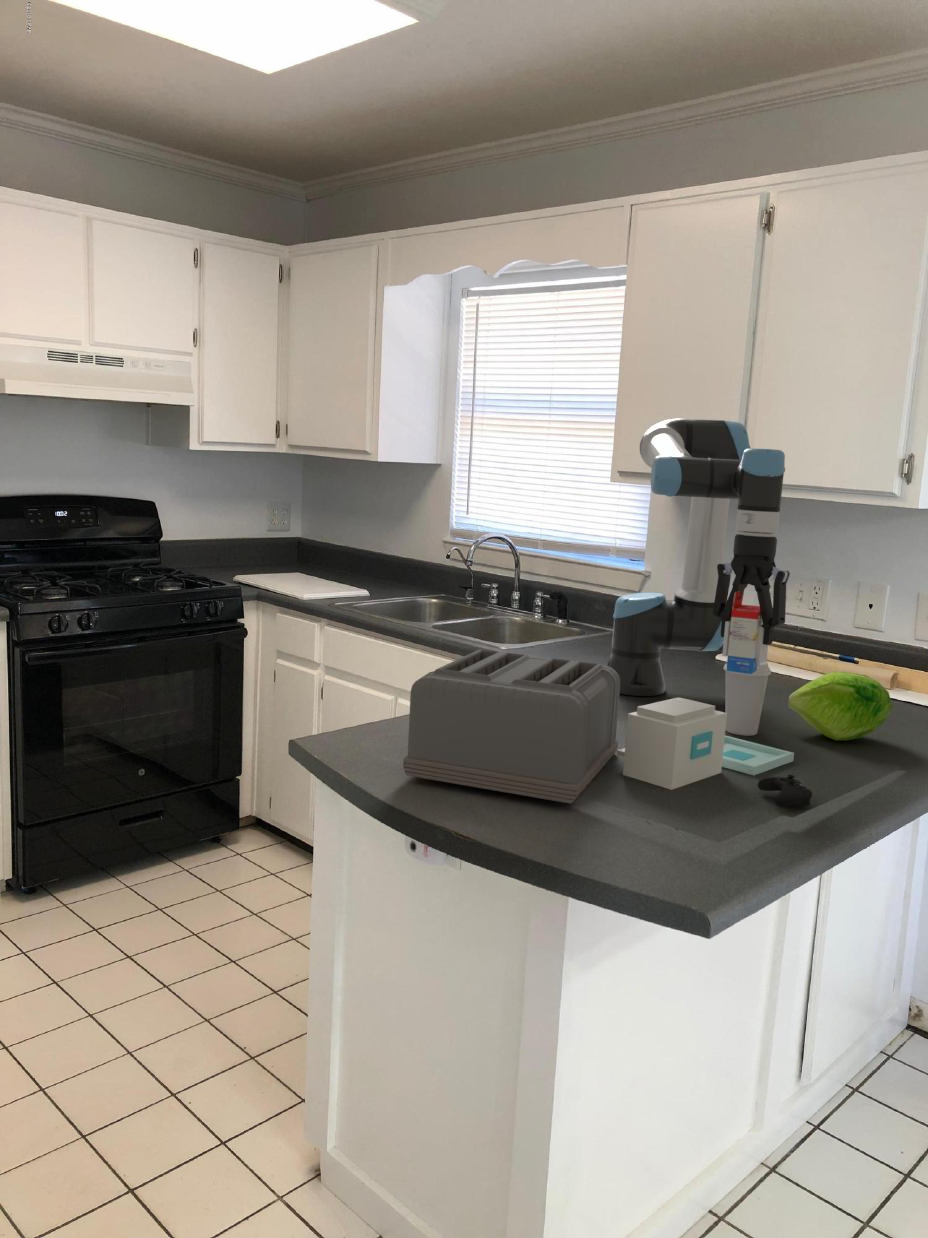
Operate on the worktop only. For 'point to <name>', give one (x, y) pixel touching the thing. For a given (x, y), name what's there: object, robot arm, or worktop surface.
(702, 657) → the worktop surface
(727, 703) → the coffee cup
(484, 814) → the worktop surface
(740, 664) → the ink box
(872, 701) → the lettuce
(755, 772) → the tray
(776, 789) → the gaming controller
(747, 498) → the robot arm
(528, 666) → the toaster
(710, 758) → the white lidded box
